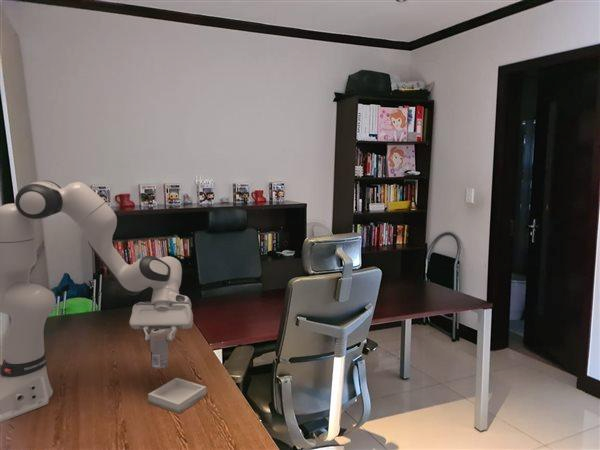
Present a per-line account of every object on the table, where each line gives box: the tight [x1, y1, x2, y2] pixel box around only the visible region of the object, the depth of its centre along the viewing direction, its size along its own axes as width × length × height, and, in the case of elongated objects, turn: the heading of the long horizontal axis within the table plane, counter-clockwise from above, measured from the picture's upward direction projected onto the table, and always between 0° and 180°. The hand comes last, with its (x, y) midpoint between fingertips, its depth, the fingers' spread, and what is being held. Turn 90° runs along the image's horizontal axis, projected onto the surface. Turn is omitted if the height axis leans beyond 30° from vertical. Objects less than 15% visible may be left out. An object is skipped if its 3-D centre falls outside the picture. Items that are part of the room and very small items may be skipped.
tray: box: [147, 377, 207, 414], centre depth 151 cm, size 13×13×3 cm
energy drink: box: [149, 327, 170, 369], centre depth 150 cm, size 5×5×12 cm
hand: (158, 340), depth 149 cm, fingers closed on energy drink, 5 cm apart
